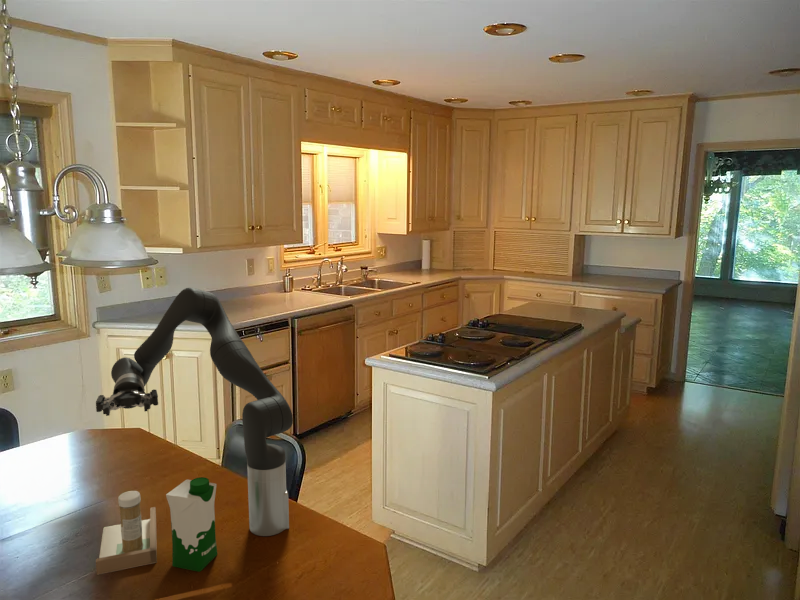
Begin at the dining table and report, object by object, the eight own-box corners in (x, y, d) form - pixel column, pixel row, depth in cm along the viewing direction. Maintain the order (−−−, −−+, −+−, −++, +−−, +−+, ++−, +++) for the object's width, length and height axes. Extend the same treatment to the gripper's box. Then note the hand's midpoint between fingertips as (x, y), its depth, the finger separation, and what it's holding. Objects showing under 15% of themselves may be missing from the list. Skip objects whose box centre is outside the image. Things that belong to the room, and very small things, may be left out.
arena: (156, 520, 151) (155, 506, 151) (156, 565, 133) (155, 549, 132) (103, 530, 147) (102, 516, 146) (97, 577, 129) (95, 561, 128)
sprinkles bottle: (126, 543, 140) (122, 490, 137) (146, 542, 140) (142, 489, 138) (119, 555, 135) (115, 500, 133) (139, 554, 136) (136, 499, 133)
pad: (149, 538, 142) (149, 538, 142) (149, 555, 136) (149, 554, 136) (117, 544, 139) (117, 544, 139) (115, 561, 133) (115, 560, 133)
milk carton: (201, 578, 129) (196, 492, 126) (165, 570, 131) (160, 486, 128) (223, 555, 137) (220, 474, 134) (189, 548, 140) (185, 468, 136)
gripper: (98, 379, 157) (93, 398, 142) (156, 373, 162) (157, 391, 147) (100, 406, 158) (95, 428, 143) (158, 400, 163) (159, 420, 149)
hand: (126, 409), depth 145 cm, fingers open, 8 cm apart
